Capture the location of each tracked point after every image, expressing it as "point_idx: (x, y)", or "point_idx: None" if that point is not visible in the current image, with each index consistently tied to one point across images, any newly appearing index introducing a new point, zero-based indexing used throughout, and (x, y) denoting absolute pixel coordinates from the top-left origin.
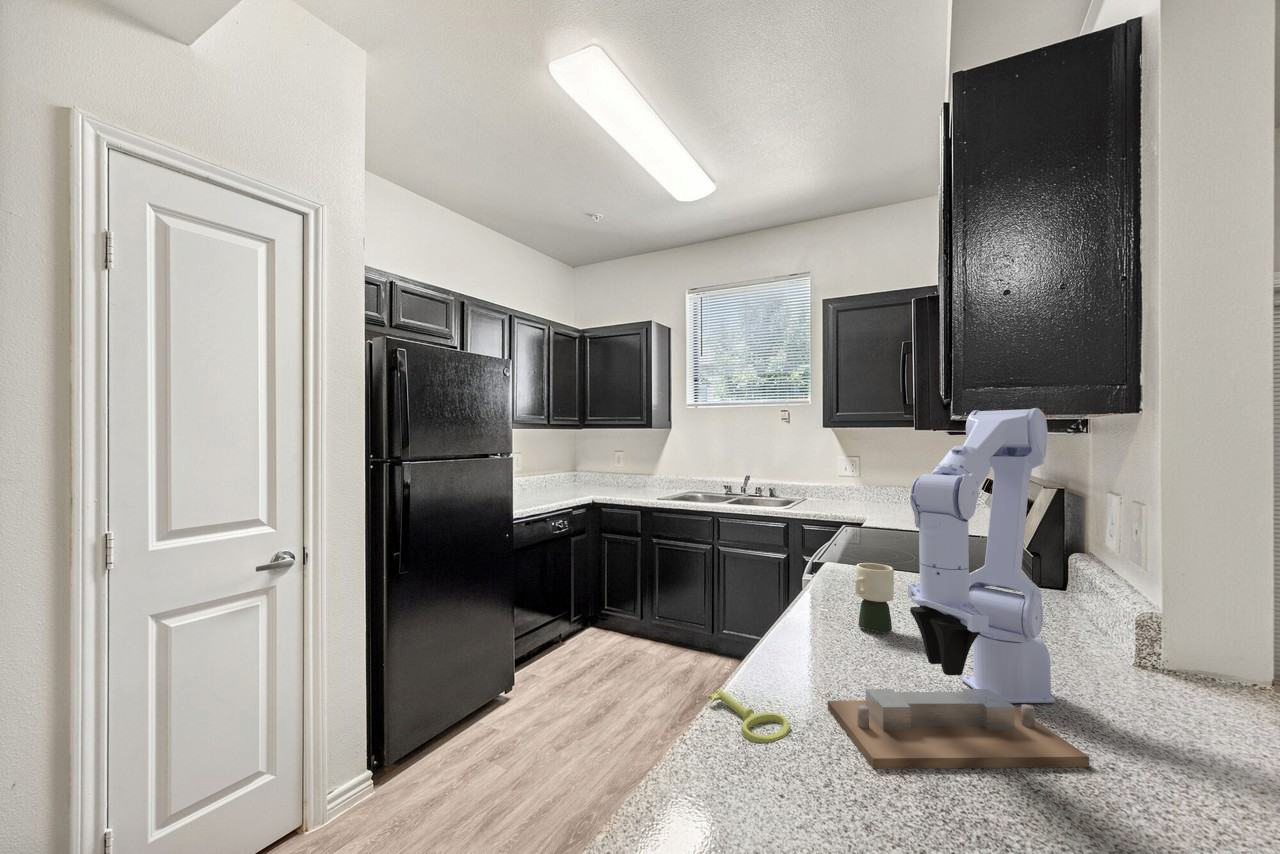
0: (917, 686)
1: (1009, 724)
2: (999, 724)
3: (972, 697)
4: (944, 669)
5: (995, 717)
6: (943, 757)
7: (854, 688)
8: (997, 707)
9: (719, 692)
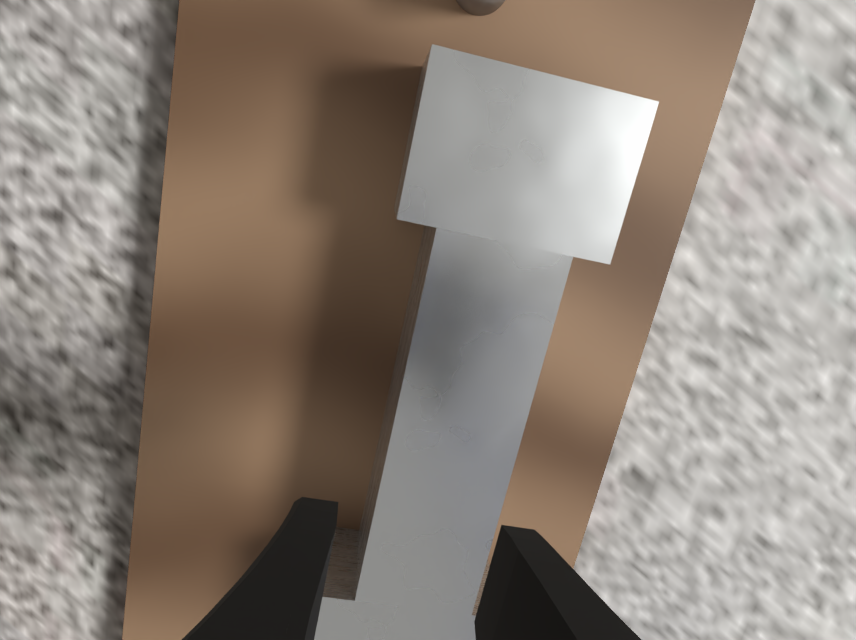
0: (753, 542)
1: None
2: None
3: (415, 600)
4: (301, 511)
5: None
6: (165, 189)
7: (850, 263)
8: None
9: None
